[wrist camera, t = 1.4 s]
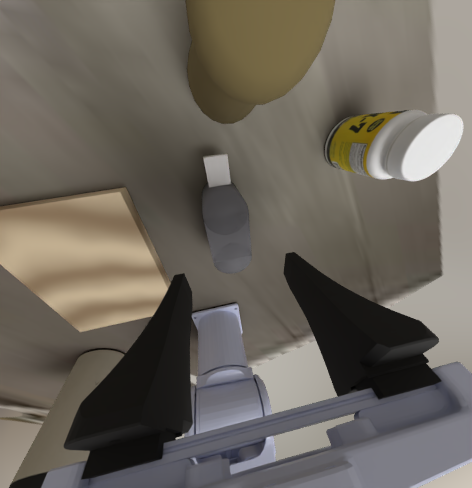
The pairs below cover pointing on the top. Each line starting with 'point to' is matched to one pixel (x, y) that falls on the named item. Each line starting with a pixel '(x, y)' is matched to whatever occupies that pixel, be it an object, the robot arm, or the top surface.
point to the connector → (225, 217)
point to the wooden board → (84, 257)
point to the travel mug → (64, 420)
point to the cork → (251, 51)
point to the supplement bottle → (394, 144)
